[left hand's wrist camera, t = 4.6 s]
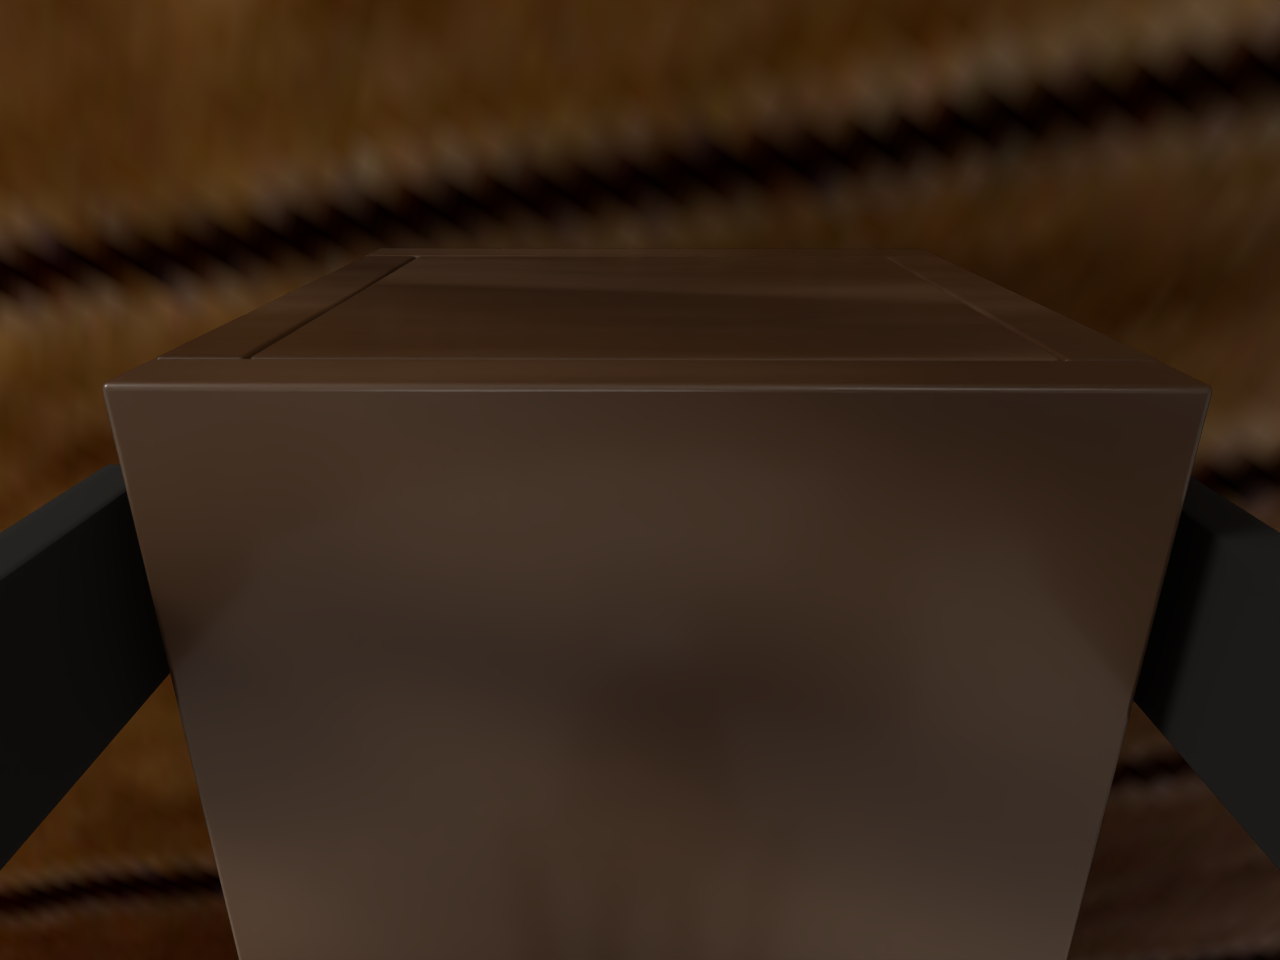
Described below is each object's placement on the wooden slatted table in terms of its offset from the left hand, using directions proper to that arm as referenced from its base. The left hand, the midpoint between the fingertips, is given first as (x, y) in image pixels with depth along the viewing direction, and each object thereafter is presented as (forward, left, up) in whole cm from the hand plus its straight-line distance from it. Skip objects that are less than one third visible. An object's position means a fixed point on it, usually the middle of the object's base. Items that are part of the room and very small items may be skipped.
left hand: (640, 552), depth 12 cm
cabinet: (+1, +7, -8) cm, 11 cm away
